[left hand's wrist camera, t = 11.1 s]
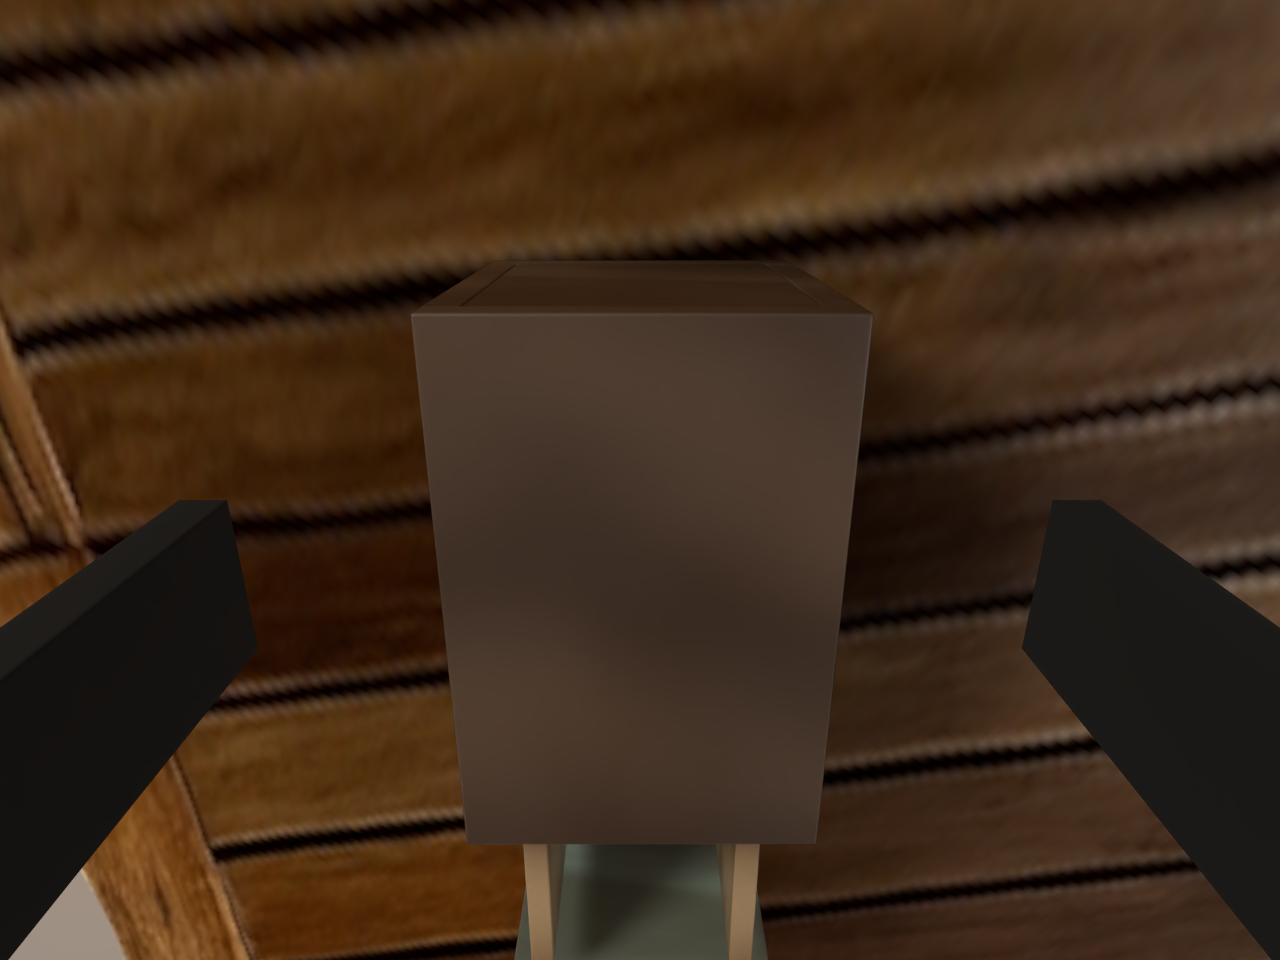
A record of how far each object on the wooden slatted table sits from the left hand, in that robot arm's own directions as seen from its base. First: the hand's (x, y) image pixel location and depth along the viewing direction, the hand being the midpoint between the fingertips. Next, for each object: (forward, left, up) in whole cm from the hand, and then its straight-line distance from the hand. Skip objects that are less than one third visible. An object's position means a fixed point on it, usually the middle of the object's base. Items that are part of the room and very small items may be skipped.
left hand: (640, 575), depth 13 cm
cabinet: (+1, +5, -18) cm, 19 cm away
